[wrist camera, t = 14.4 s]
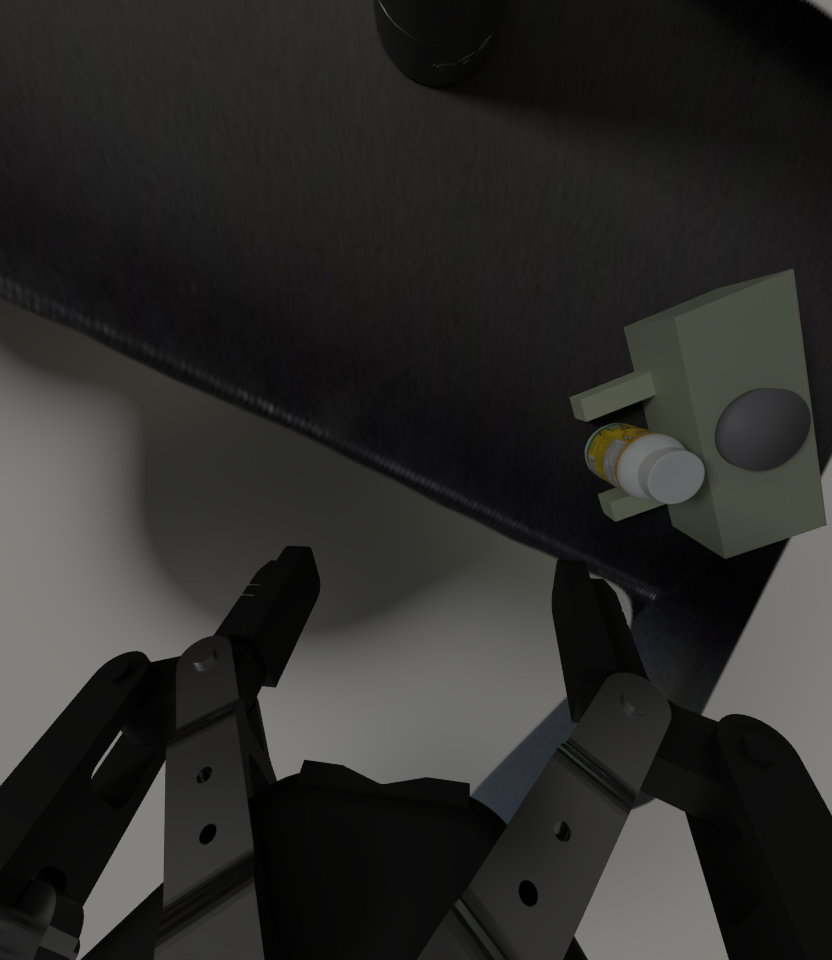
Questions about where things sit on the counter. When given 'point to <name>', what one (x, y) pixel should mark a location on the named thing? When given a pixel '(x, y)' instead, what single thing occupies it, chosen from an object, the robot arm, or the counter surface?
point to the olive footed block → (726, 413)
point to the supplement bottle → (644, 463)
